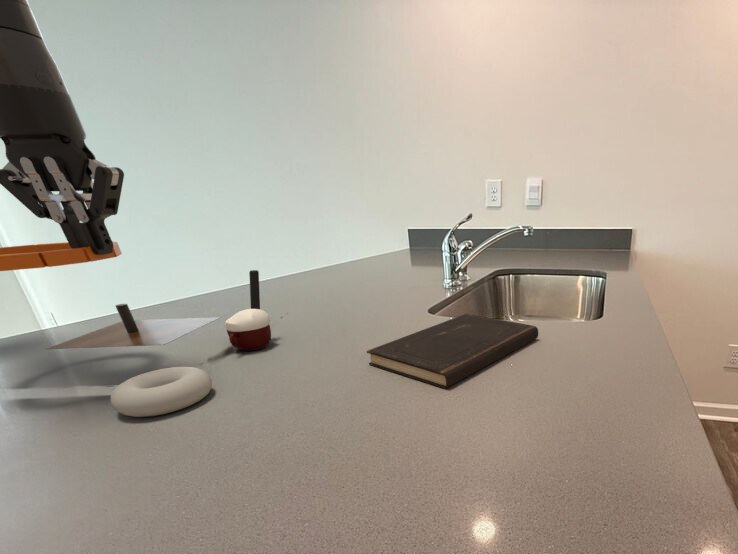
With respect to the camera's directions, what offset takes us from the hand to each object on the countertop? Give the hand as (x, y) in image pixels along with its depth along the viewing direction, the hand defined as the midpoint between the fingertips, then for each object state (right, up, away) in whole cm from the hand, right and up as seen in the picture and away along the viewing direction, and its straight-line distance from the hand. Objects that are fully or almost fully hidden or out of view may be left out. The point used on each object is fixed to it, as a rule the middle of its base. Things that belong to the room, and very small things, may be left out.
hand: (95, 253), depth 52 cm
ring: (-7, -1, 0) cm, 7 cm away
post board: (-15, -8, +23) cm, 29 cm away
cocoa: (+9, -10, +18) cm, 23 cm away
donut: (+9, -19, 0) cm, 21 cm away
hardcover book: (+44, -11, +14) cm, 48 cm away
